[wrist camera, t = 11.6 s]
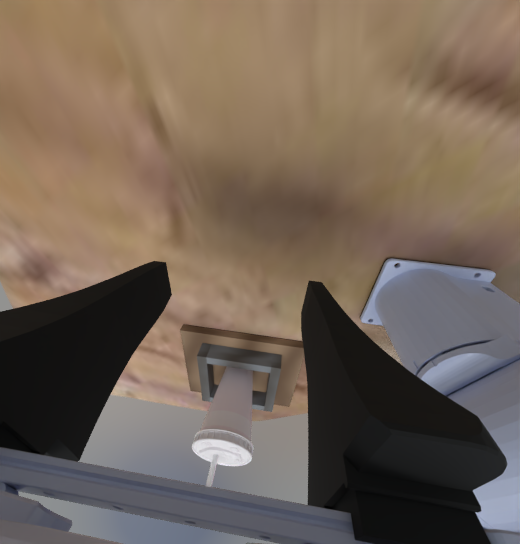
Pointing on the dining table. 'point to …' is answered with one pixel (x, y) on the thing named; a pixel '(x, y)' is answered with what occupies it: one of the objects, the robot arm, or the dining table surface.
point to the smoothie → (228, 423)
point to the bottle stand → (242, 363)
